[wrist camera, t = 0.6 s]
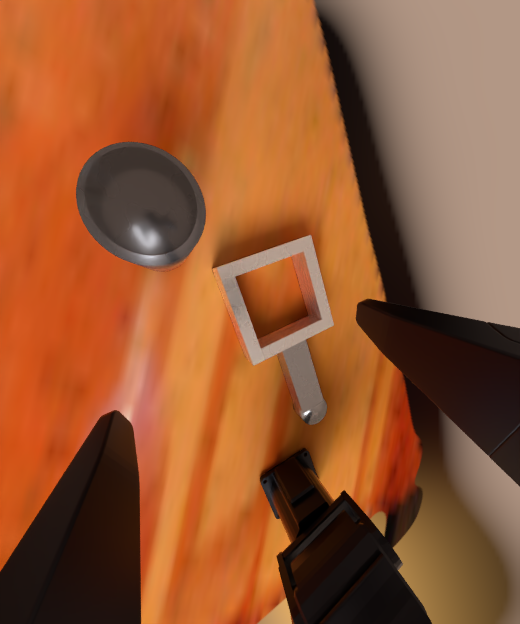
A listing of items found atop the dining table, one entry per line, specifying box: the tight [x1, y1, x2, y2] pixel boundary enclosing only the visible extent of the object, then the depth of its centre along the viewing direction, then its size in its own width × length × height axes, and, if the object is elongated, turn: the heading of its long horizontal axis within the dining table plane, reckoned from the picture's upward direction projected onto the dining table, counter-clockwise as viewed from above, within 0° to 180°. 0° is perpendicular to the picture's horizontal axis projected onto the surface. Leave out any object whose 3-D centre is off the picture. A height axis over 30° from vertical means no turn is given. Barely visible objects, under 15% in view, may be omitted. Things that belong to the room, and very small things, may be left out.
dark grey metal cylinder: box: [76, 142, 206, 272], centre depth 14 cm, size 5×5×12 cm
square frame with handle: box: [212, 235, 334, 425], centre depth 24 cm, size 20×9×2 cm, turn 18°
